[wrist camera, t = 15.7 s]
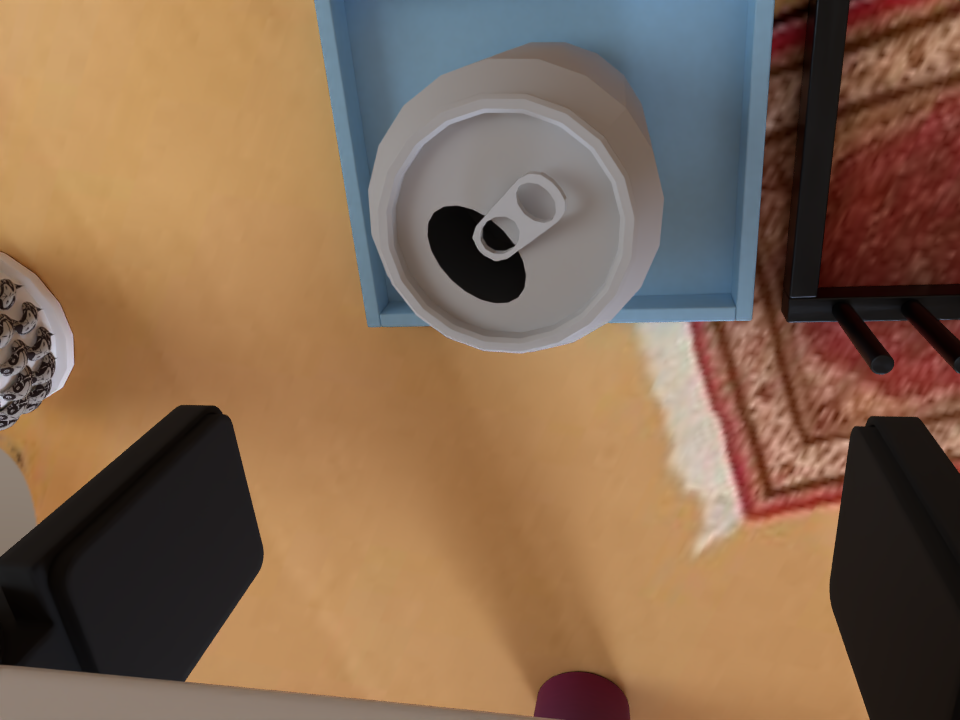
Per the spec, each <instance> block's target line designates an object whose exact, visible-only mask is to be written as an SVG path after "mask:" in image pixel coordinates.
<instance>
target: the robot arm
mask: <svg viewBox="0 0 960 720" xmlns="http://www.w3.org/2000/svg"><path fill="white" fill-rule="evenodd" d="M263 555H264V551H263V545H262V541H261V537H260V533H259V529H258V525H257V521H256V517H255V513H254V509H253V505H252V501H251V497H250V493H249V489H248V485H247V481H246V477H245V473H244V469H243V465H242V461H241V457H240V452H239V448H238V444H237V440H236V436H235V432H234V428H233V424H232V422H231V419H230V418H229V417H228V416H227V415H223V414H222V412H221V410H220V409H219V408H218V407H216V406H205V405H180V406H178V407H176V408H175V409H174V410H173V411H171V412H170V413H169V414H168V415H167V416H166V417H164V418H163V419H162V420H161V421H160V422H159V423H157V424H156V425H155V426H154V427H153V428H151V429H150V430H149V431H148V432H147V433H146V434H144V435H143V436H142V437H141V438H140V439H139V440H137V441H136V442H135V443H134V444H133V445H131V446H130V447H129V448H128V449H127V450H126V451H124V452H123V453H122V454H121V455H120V456H119V457H117V458H116V459H115V460H114V461H113V462H111V463H110V464H109V465H108V466H107V467H106V468H104V469H103V470H102V471H101V472H100V473H99V474H97V475H96V476H95V477H94V478H93V479H91V480H90V481H89V482H88V483H87V484H86V485H84V486H83V487H82V488H81V489H80V490H78V491H77V492H76V493H75V494H74V495H73V496H71V497H70V498H69V499H68V500H67V501H66V502H64V503H63V504H62V505H61V506H60V507H58V508H57V509H56V510H55V511H54V512H53V513H51V514H50V515H49V516H48V517H47V518H46V519H44V520H43V521H42V522H41V523H40V524H38V525H37V526H36V527H35V528H34V529H33V530H31V531H30V532H29V533H28V534H27V535H26V536H24V537H23V538H22V539H21V540H20V541H18V542H17V543H16V544H15V545H14V546H13V547H11V548H10V549H9V550H8V551H7V552H6V553H4V554H3V555H2V556H1V557H0V720H560V719H551V718H542V717H532V716H523V715H514V714H504V713H495V712H485V711H475V710H465V709H455V708H445V707H436V706H426V705H416V704H406V703H396V702H386V701H377V700H366V699H356V698H346V697H336V696H326V695H316V694H306V693H296V692H286V691H276V690H266V689H255V688H245V687H234V686H224V685H213V684H203V683H192V682H185V680H186V679H187V677H188V676H189V674H190V673H191V671H192V670H193V668H194V667H195V666H196V664H197V663H198V661H199V660H200V658H201V657H202V655H203V654H204V652H205V651H206V649H207V648H208V646H209V645H210V643H211V642H212V640H213V639H214V637H215V636H216V634H217V633H218V632H219V630H220V629H221V627H222V626H223V624H224V623H225V621H226V620H227V618H228V617H229V615H230V614H231V612H232V611H233V609H234V608H235V606H236V605H237V603H238V602H239V600H240V599H241V598H242V596H243V595H244V593H245V592H246V590H247V589H248V587H249V586H250V584H251V583H252V581H253V580H254V578H255V577H256V575H257V574H258V572H259V570H260V569H261V566H262V563H263ZM830 600H831V606H832V609H833V613H834V615H835V618H836V621H837V624H838V627H839V630H840V633H841V636H842V639H843V642H844V645H845V648H846V651H847V654H848V657H849V660H850V662H851V665H852V668H853V671H854V674H855V677H856V680H857V683H858V686H859V689H860V692H861V695H862V698H863V701H864V704H865V707H866V709H867V712H868V715H869V718H870V720H960V474H959V472H958V471H957V469H956V468H955V467H954V465H953V464H952V462H951V461H950V460H949V458H948V457H947V456H946V454H945V453H944V451H943V450H942V449H941V447H940V446H939V444H938V443H937V442H936V440H935V439H934V438H933V436H932V435H931V433H930V432H929V431H928V429H927V428H926V426H925V425H924V424H923V422H922V421H921V420H920V419H919V418H918V417H884V416H871V417H870V418H869V419H868V420H867V423H866V426H865V427H859V426H855V427H854V428H853V429H852V432H851V436H850V442H849V449H848V456H847V463H846V470H845V477H844V484H843V491H842V498H841V505H840V512H839V519H838V527H837V534H836V541H835V548H834V555H833V562H832V569H831V576H830Z"/></svg>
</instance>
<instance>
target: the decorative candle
mask: <svg viewBox="0 0 960 720" xmlns="http://www.w3.org/2000/svg"><path fill="white" fill-rule="evenodd" d="M73 366H74V344H73V334H72V331H71V329H70V326H69V324H68V322H67V319H66V317H65V314H64V312H63V310H62V307H61V305H60V303H59V302H58V301H57V299H56V298H55V297H54V296H53V295H52V293H51V292H50V291H49V290H48V289H47V287H46V286H45V285H44V284H43V282H42V281H41V280H40V279H39V278H38V276H37V275H36V274H34V273H33V272H31V271H30V270H29V269H27V268H26V267H24V266H23V265H21V264H20V263H18V262H17V261H15V260H14V259H13V258H11V257H10V256H8V255H7V254H5V253H2V252H0V430H4V429H7V428H9V427H11V426H12V425H13V424H15V423H16V422H17V420H18V419H19V417H20V415H22V414H26V413H29V412H31V411H33V410H35V409H36V408H37V407H38V406H39V405H40V404H41V402H42V400H44V399H45V398H47V397H48V396H50V395H52V394H53V393H55V392H56V391H58V390H60V389H61V388H62V387H63V386H64V384H65V382H66V380H67V378H68V376H69V374H70V372H71V370H72V368H73Z"/></svg>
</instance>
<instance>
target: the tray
mask: <svg viewBox="0 0 960 720" xmlns="http://www.w3.org/2000/svg"><path fill="white" fill-rule="evenodd" d="M314 2H315V8H316V14H317V21H318V27H319V33H320V39H321V45H322V51H323V57H324V63H325V69H326V75H327V81H328V87H329V94H330V100H331V106H332V112H333V118H334V124H335V130H336V136H337V142H338V148H339V154H340V160H341V167H342V173H343V179H344V185H345V191H346V197H347V203H348V209H349V215H350V221H351V227H352V233H353V240H354V246H355V252H356V258H357V264H358V270H359V276H360V282H361V288H362V294H363V300H364V306H365V313H366V319H367V325H368V327H381V326H382V327H411V326H430V325H429V324H428V323H426V322H425V321H423V320H422V319H421V318H419V317H418V316H417V315H416V314H415V313H414V312H413V311H412V309H411V308H410V307H409V305H408V304H407V303H406V302H405V300H404V299H403V298H402V296H401V295H400V294H399V293H398V291H397V290H396V289H395V287H394V286H393V285H392V283H391V280H390V278H389V277H388V276H387V273H386V271H385V268H384V266H383V263H382V260H381V258H380V255H379V253H378V250H377V248H376V245H375V242H374V240H373V237H372V235H371V222H370V209H369V196H368V188H369V184H370V180H371V176H372V171H373V167H374V163H375V159H376V155H377V150H378V146H379V144H380V143H381V141H382V139H383V138H384V136H385V135H386V133H387V131H388V130H389V128H390V126H391V125H392V123H393V122H394V120H395V118H396V117H397V115H398V114H399V112H400V110H401V109H402V107H403V106H404V105H405V104H406V103H407V102H409V101H410V100H411V99H412V98H414V97H415V96H416V95H417V94H418V93H420V92H421V91H422V90H423V89H425V88H426V87H427V86H428V85H430V84H431V83H432V82H433V81H434V80H436V79H437V78H438V77H439V76H441V75H443V74H446V73H448V72H451V71H454V70H456V69H459V68H462V67H464V66H467V65H470V64H472V63H475V62H478V61H480V60H483V59H486V58H488V57H491V56H494V55H496V54H499V53H502V52H505V51H507V50H510V49H513V48H516V47H519V46H522V45H524V44H527V43H530V42H566V43H569V44H572V45H575V46H578V47H580V48H583V49H586V50H589V51H592V52H595V53H597V54H598V55H600V56H601V57H602V58H603V59H605V60H606V61H607V62H608V63H610V64H611V65H612V66H613V67H615V68H616V69H617V70H618V71H619V72H621V73H622V74H623V75H624V76H625V78H626V79H627V81H628V83H629V84H630V86H631V87H632V89H633V91H634V92H635V94H636V96H637V97H638V99H639V100H640V102H641V104H642V107H643V111H644V115H645V119H646V123H647V128H648V132H649V136H650V140H651V144H652V149H653V153H654V157H655V162H656V166H657V170H658V174H659V179H660V183H661V187H662V192H663V196H664V205H663V215H662V225H661V235H660V245H659V248H658V250H657V252H656V255H655V257H654V259H653V261H652V264H651V266H650V268H649V270H648V272H647V275H646V277H645V279H644V281H643V284H642V286H641V288H640V289H639V290H638V291H637V292H636V293H635V295H634V296H633V297H632V298H631V299H630V300H629V301H628V302H627V303H626V304H625V306H624V307H623V308H622V309H621V310H620V311H619V312H618V313H617V314H616V315H615V317H614V318H613V319H612V320H611V321H609V322H608V323H637V322H693V321H734V320H735V319H736V320H737V321H750V320H752V313H753V299H754V285H755V271H756V257H757V243H758V229H759V215H760V201H761V187H762V173H763V159H764V145H765V131H766V117H767V104H768V90H769V76H770V62H771V48H772V34H773V20H774V6H775V0H314Z"/></svg>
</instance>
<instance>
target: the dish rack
mask: <svg viewBox="0 0 960 720" xmlns="http://www.w3.org/2000/svg"><path fill="white" fill-rule="evenodd" d="M849 2H850V0H809V7H808V19H807V30H806V41H805V52H804V63H803V75H802V86H801V97H800V108H799V119H798V131H797V142H796V153H795V164H794V175H793V187H792V198H791V209H790V220H789V231H788V243H787V254H786V265H785V276H784V290H783V298H782V309H781V311H782V313H783V315H784V317H785V319H786V321H787V322H838V323H839V324H840V326H841V327H842V329H843V330H844V332H845V333H846V334H847V336H848V337H849V339H850V340H851V342H852V343H853V344H854V346H855V347H856V349H857V350H858V352H859V353H860V354H861V356H862V357H863V359H864V360H865V362H866V363H867V364H868V366H869V367H870V369H871V370H872V371H873V372H874V373H876V374H886V373H888V372H890V371H891V370H892V369H893V367H894V360H893V358H892V357H891V356H890V354H889V353H888V352H887V351H886V349H885V348H884V347H883V345H882V344H881V343H880V342H879V340H878V339H877V338H876V337H875V335H874V334H873V333H872V331H871V330H870V329H869V328H868V326H867V325H866V324H865V323H864V321H906V320H908V321H909V322H910V323H911V324H912V325H913V326H914V327H915V328H916V329H917V330H918V331H919V333H920V334H921V335H922V336H923V337H924V338H925V339H926V340H927V341H928V342H929V343H930V344H931V345H932V347H933V348H934V349H935V350H936V351H937V352H938V353H939V354H940V355H941V356H942V357H943V358H944V359H945V361H946V362H947V363H948V364H949V365H950V366H951V367H952V368H953V369H954V370H955V371H956V372H957V373H959V374H960V341H959V340H958V339H957V338H956V337H955V336H954V335H953V334H952V333H951V332H950V331H949V330H948V329H947V328H946V327H945V326H944V325H943V324H942V323H941V322H940V321H939V320H960V284H947V285H908V286H869V287H829V288H818V284H819V275H820V266H821V257H822V248H823V239H824V229H825V220H826V211H827V202H828V193H829V184H830V175H831V166H832V157H833V148H834V139H835V130H836V120H837V111H838V102H839V93H840V84H841V75H842V66H843V57H844V48H845V39H846V30H847V21H848V11H849Z"/></svg>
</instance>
